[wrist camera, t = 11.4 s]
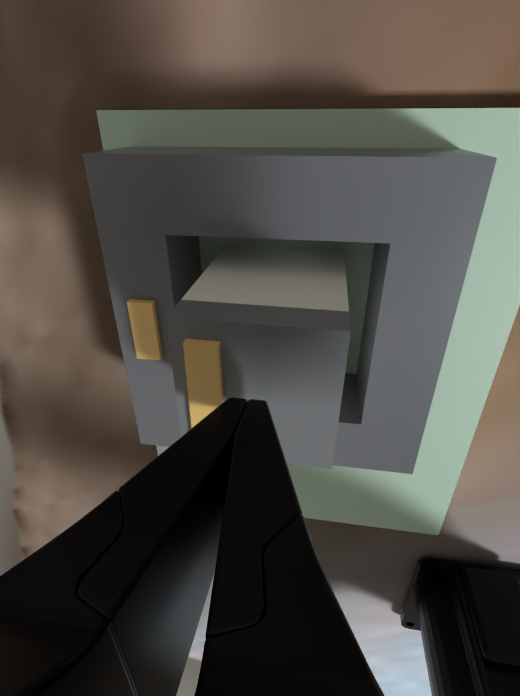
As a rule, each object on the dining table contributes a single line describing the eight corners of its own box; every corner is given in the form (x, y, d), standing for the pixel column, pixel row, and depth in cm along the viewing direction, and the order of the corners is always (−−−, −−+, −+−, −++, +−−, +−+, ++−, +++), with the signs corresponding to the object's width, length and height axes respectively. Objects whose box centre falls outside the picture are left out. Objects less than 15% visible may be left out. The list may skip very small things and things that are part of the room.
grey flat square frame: (399, 418, 16) (413, 478, 14) (168, 396, 18) (138, 447, 15) (460, 148, 11) (500, 158, 9) (131, 146, 13) (77, 154, 10)
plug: (331, 351, 15) (331, 475, 10) (230, 343, 16) (180, 456, 11) (343, 249, 13) (351, 336, 8) (227, 243, 14) (162, 321, 9)
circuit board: (434, 521, 20) (438, 535, 20) (170, 487, 22) (165, 499, 21) (573, 108, 11) (588, 107, 11) (108, 110, 13) (95, 110, 12)
